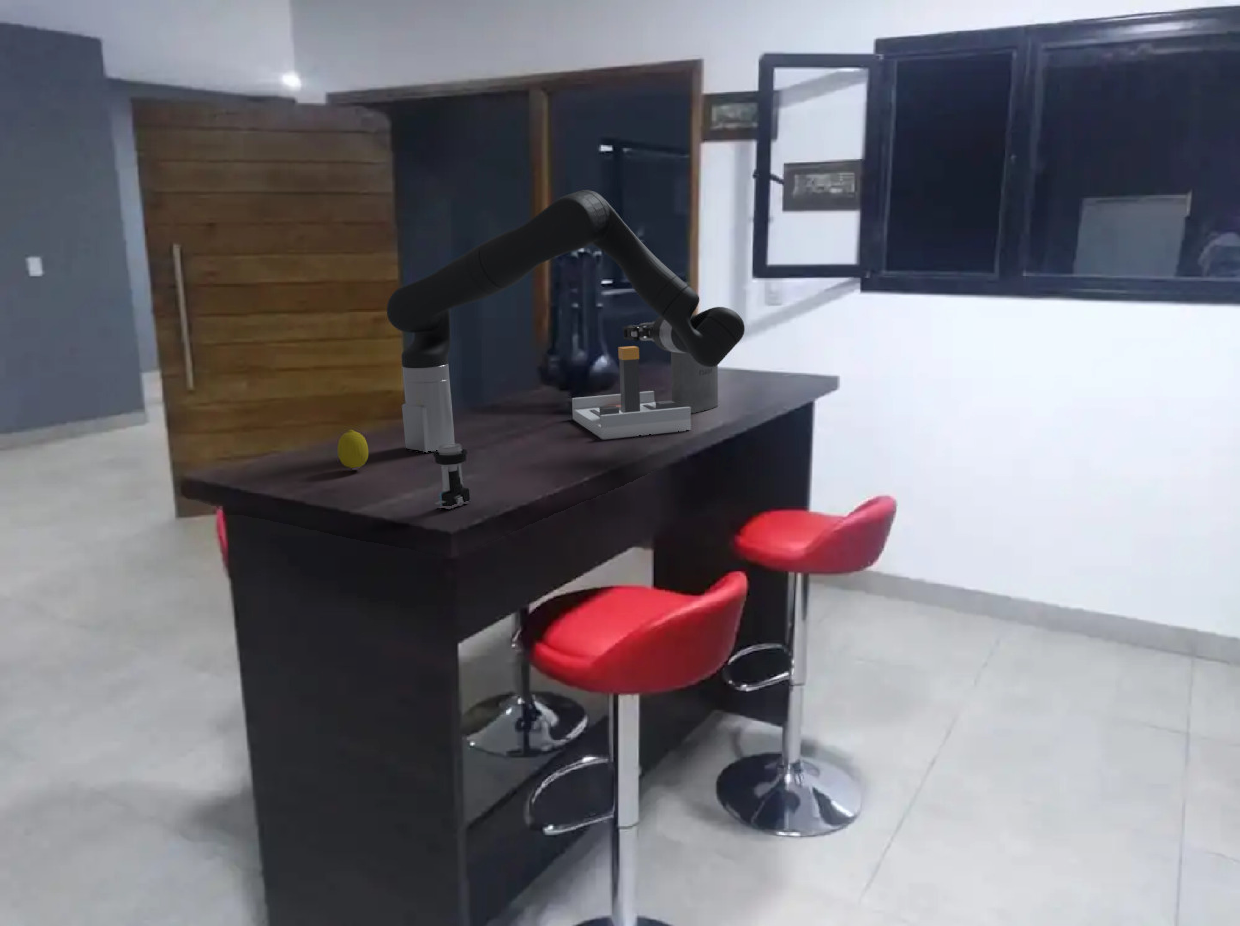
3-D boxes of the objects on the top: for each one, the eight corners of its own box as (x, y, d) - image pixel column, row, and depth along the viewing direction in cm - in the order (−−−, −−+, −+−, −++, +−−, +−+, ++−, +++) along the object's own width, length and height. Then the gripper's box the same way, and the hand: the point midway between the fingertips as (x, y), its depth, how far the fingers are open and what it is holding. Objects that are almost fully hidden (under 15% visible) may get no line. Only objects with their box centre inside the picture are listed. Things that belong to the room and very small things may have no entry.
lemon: (345, 467, 174) (341, 427, 172) (374, 467, 174) (369, 426, 172) (336, 475, 169) (331, 433, 167) (365, 474, 169) (360, 432, 167)
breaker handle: (640, 412, 202) (638, 347, 198) (625, 414, 201) (622, 348, 197) (636, 410, 205) (634, 346, 201) (620, 411, 204) (618, 347, 200)
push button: (448, 515, 142) (442, 453, 140) (424, 510, 145) (419, 449, 143) (478, 504, 147) (473, 444, 145) (454, 499, 150) (450, 441, 148)
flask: (687, 416, 212) (686, 330, 207) (668, 413, 216) (666, 329, 211) (724, 405, 223) (724, 323, 218) (705, 403, 226) (704, 322, 221)
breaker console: (691, 430, 196) (690, 405, 195) (602, 439, 191) (601, 413, 189) (653, 411, 219) (652, 388, 217) (572, 419, 213) (571, 396, 211)
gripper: (711, 309, 173) (678, 307, 189) (642, 315, 169) (614, 313, 184) (713, 349, 175) (680, 344, 190) (644, 355, 171) (616, 350, 186)
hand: (647, 329), depth 187 cm, fingers open, 8 cm apart
